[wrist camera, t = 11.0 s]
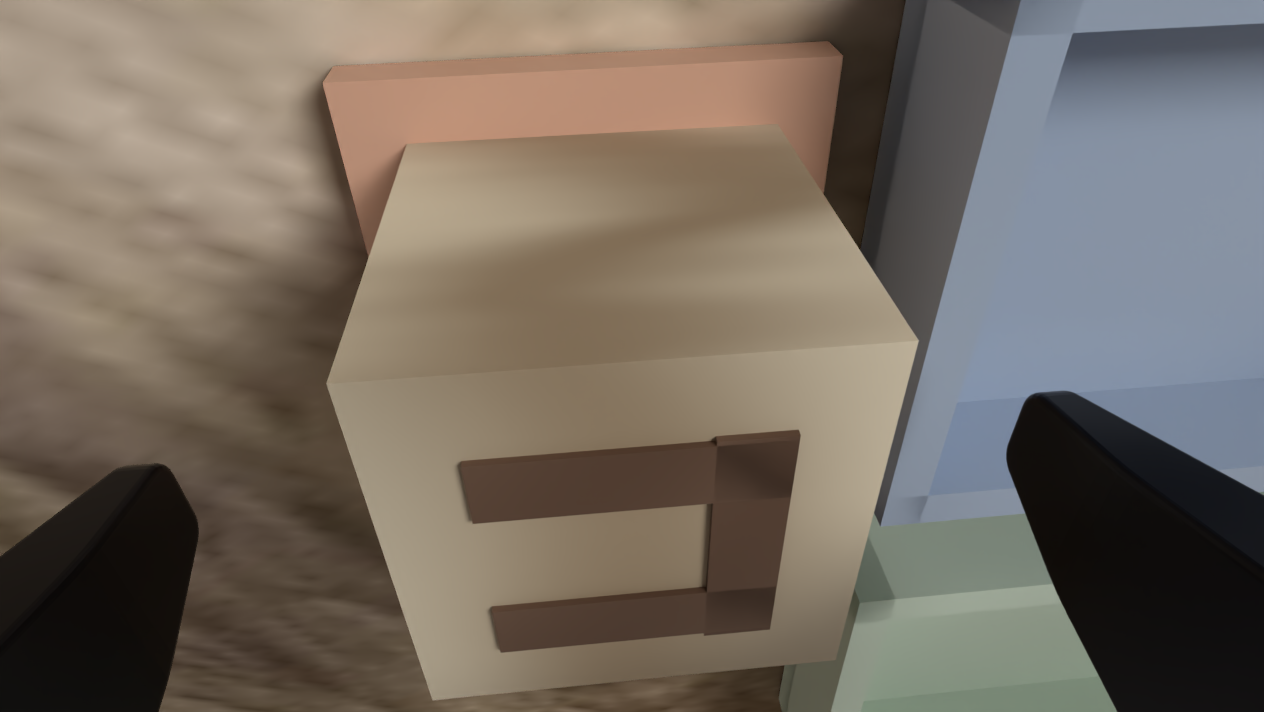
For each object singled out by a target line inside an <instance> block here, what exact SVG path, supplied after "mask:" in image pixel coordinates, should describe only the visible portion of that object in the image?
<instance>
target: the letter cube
mask: <svg viewBox="0 0 1264 712" xmlns="http://www.w3.org/2000/svg"><path fill="white" fill-rule="evenodd" d="M918 342H919V340H918V339H917V337H916V336H915V334H914V333H913V331H912V329H911V328H910V326H909V325H908V323H907V322H906V320H905V319H904V317H903V316H902V314H901V313H900V311H899V310H898V308H897V306H896V305H895V303H894V302H893V300H892V299H891V297H890V296H889V294H888V293H887V291H886V290H885V288H884V286H883V285H882V283H881V282H880V280H879V279H878V277H877V276H876V274H875V273H874V271H873V270H872V268H871V267H870V265H869V263H868V262H867V260H866V259H865V257H864V256H863V254H862V253H861V251H860V250H859V248H858V247H857V245H856V244H855V242H854V240H853V239H852V237H851V236H850V234H849V233H848V231H847V230H846V228H845V227H844V225H843V224H842V222H841V220H840V219H839V217H838V216H837V214H836V213H835V211H834V210H833V208H832V207H831V205H830V204H829V202H828V201H827V199H826V197H825V196H824V194H823V193H822V191H821V190H820V188H819V187H818V185H817V184H816V182H815V181H814V179H813V177H812V176H811V174H810V173H809V171H808V170H807V168H806V167H805V165H804V164H803V162H802V161H801V159H800V158H799V156H798V154H797V153H796V151H795V150H794V148H793V147H792V145H791V144H790V142H789V141H788V139H787V138H786V136H785V135H784V133H783V131H782V130H781V128H780V127H779V125H778V124H766V125H747V126H729V127H710V128H691V129H673V130H654V131H636V132H617V133H598V134H580V135H561V136H542V137H524V138H505V139H486V140H468V141H449V142H430V143H412V144H407V145H406V148H405V151H404V154H403V157H402V160H401V163H400V166H399V169H398V172H397V175H396V178H395V181H394V184H393V187H392V190H391V193H390V196H389V199H388V201H387V204H386V207H385V210H384V213H383V216H382V219H381V222H380V225H379V228H378V231H377V234H376V237H375V240H374V243H373V246H372V249H371V252H370V255H369V258H368V261H367V264H366V267H365V270H364V273H363V276H362V279H361V282H360V285H359V288H358V291H357V294H356V297H355V300H354V303H353V306H352V309H351V312H350V315H349V318H348V321H347V324H346V327H345V330H344V333H343V336H342V338H341V341H340V344H339V347H338V350H337V353H336V356H335V359H334V362H333V365H332V368H331V371H330V374H329V377H328V380H327V383H326V385H327V388H328V391H329V394H330V397H331V400H332V403H333V406H334V409H335V412H336V414H337V417H338V420H339V423H340V426H341V429H342V432H343V435H344V438H345V441H346V444H347V447H348V450H349V453H350V456H351V459H352V462H353V465H354V468H355V471H356V474H357V477H358V480H359V483H360V486H361V489H362V492H363V495H364V498H365V501H366V504H367V507H368V510H369V513H370V516H371V519H372V522H373V525H374V528H375V531H376V534H377V537H378V540H379V542H380V545H381V548H382V551H383V554H384V557H385V560H386V563H387V566H388V569H389V572H390V575H391V578H392V581H393V584H394V587H395V590H396V593H397V596H398V599H399V602H400V605H401V608H402V611H403V614H404V617H405V620H406V623H407V626H408V629H409V632H410V635H411V638H412V641H413V644H414V647H415V650H416V653H417V656H418V659H419V662H420V665H421V668H422V670H423V673H424V676H425V679H426V682H427V685H428V688H429V691H430V694H431V697H432V700H442V699H452V698H462V697H472V696H482V695H492V694H502V693H512V692H522V691H532V690H542V689H552V688H562V687H572V686H582V685H592V684H602V683H612V682H622V681H632V680H642V679H652V678H662V677H672V676H682V675H692V674H702V673H712V672H722V671H732V670H742V669H752V668H762V667H772V666H782V665H792V664H802V663H812V662H822V661H832V660H836V657H837V653H838V649H839V645H840V641H841V638H842V634H843V630H844V626H845V622H846V618H847V614H848V611H849V607H850V603H851V599H852V595H853V591H854V588H855V584H856V580H857V576H858V572H859V568H860V565H861V561H862V557H863V553H864V549H865V545H866V542H867V538H868V534H869V530H870V526H871V522H872V518H873V515H874V511H875V507H876V503H877V499H878V495H879V492H880V488H881V484H882V480H883V476H884V472H885V469H886V465H887V461H888V457H889V453H890V449H891V445H892V442H893V438H894V434H895V430H896V426H897V422H898V419H899V415H900V411H901V407H902V403H903V399H904V396H905V392H906V388H907V384H908V380H909V376H910V373H911V369H912V365H913V361H914V357H915V353H916V349H917V346H918Z"/></svg>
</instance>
